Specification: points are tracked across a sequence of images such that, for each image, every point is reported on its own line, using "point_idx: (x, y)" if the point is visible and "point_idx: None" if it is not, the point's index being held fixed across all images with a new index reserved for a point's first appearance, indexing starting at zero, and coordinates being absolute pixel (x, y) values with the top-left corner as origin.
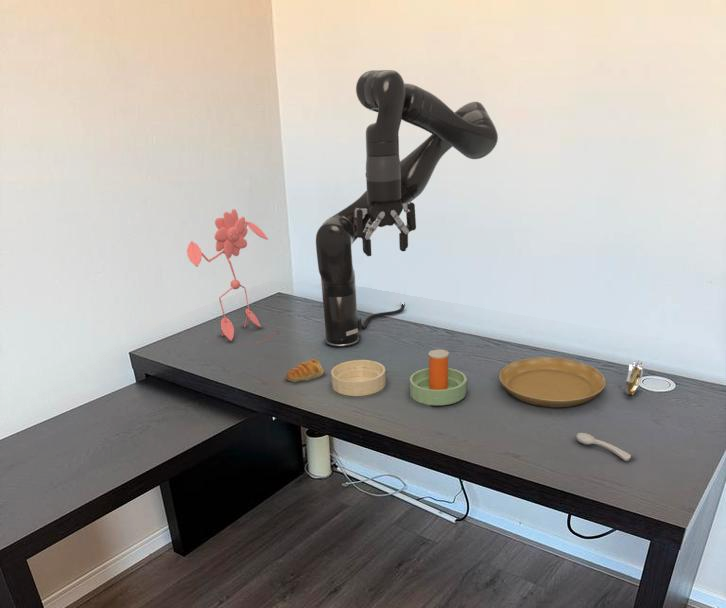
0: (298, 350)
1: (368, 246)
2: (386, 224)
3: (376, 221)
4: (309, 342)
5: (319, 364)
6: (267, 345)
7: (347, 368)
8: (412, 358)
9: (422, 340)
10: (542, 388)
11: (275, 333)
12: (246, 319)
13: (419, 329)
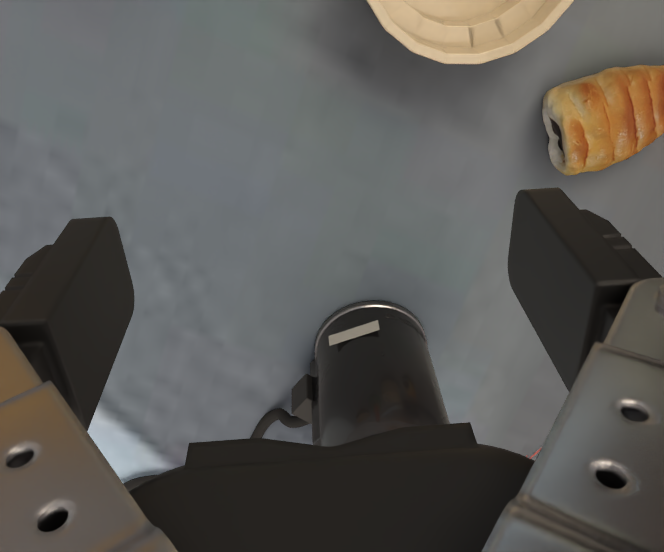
0: (524, 328)
1: (597, 235)
2: (332, 460)
3: (649, 477)
4: (468, 372)
5: (567, 115)
6: None
7: (477, 46)
8: (173, 122)
9: None
10: None
11: (537, 452)
12: None
13: None
